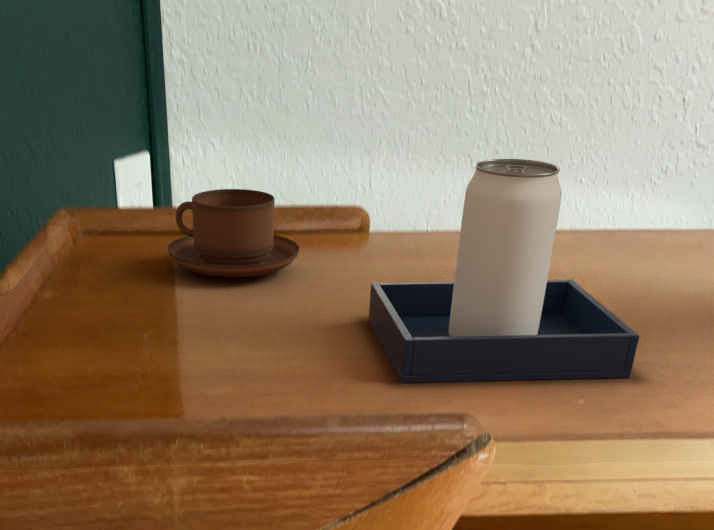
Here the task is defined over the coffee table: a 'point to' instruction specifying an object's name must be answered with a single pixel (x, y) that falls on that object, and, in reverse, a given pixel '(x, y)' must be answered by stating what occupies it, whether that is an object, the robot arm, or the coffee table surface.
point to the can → (505, 248)
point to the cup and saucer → (231, 235)
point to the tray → (499, 337)
